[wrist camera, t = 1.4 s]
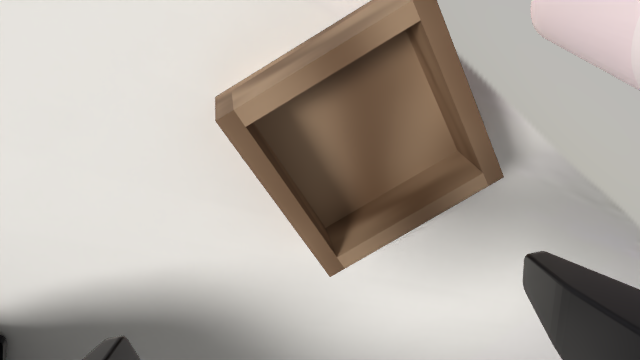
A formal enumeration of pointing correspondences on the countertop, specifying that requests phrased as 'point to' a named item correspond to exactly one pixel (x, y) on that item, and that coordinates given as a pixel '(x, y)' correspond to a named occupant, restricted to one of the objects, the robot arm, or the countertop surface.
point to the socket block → (363, 130)
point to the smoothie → (594, 32)
